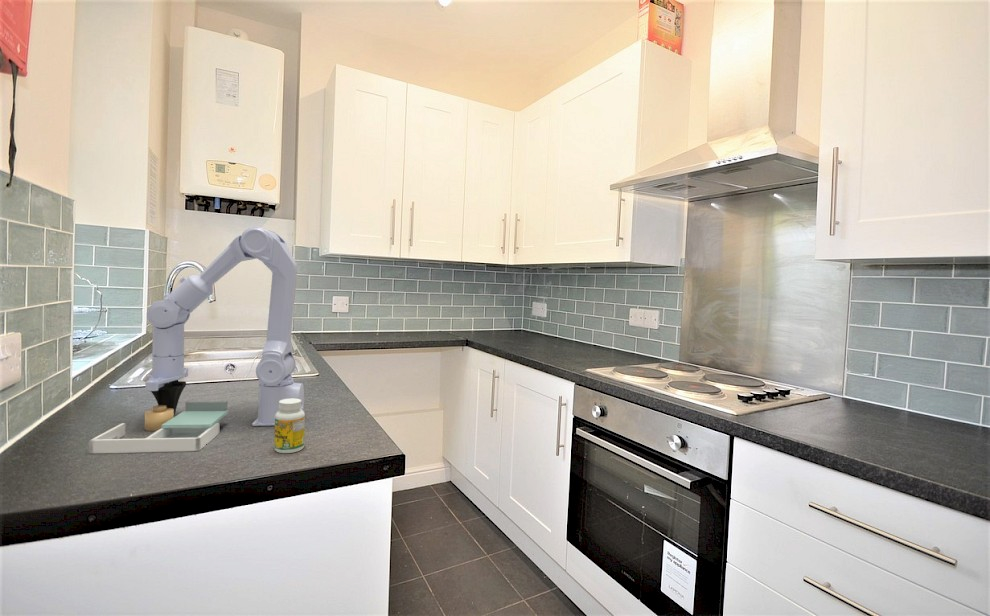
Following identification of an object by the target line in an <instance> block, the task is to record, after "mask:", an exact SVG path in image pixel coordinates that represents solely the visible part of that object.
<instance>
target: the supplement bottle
mask: <svg viewBox="0 0 990 616" xmlns="http://www.w3.org/2000/svg"><path fill="white" fill-rule="evenodd" d="M300 408H301V400H300V399H295V398H290V399H283V400H280V401H279V409H280V411H278V412H277V413H276V415H275V425H274V451H275V452H277V453H280V454H293V453H297V452H299V451H302V450H303V449H304V448H305V441H306V440H305V437H306V436H305V435H306V434H305V432H306V430H305V429H306V427H305V425H306V413H305V410H304V411H303V410H301V409H300Z"/></svg>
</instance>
